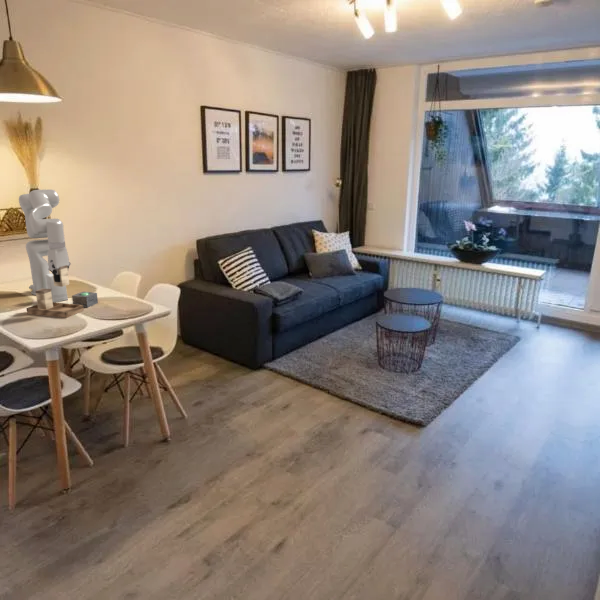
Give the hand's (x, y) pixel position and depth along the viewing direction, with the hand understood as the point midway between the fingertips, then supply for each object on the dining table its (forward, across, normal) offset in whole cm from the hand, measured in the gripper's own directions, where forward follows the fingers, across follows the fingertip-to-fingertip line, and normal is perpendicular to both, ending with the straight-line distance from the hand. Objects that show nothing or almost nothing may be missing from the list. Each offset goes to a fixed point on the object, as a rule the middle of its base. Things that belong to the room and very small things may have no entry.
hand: (61, 280), depth 247 cm
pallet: (+18, 0, -6) cm, 19 cm away
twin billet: (+16, 0, -12) cm, 20 cm away
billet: (+3, 0, 0) cm, 3 cm away
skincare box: (+18, -19, -20) cm, 33 cm away
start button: (+16, -16, 0) cm, 23 cm away
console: (+18, -16, 0) cm, 24 cm away
